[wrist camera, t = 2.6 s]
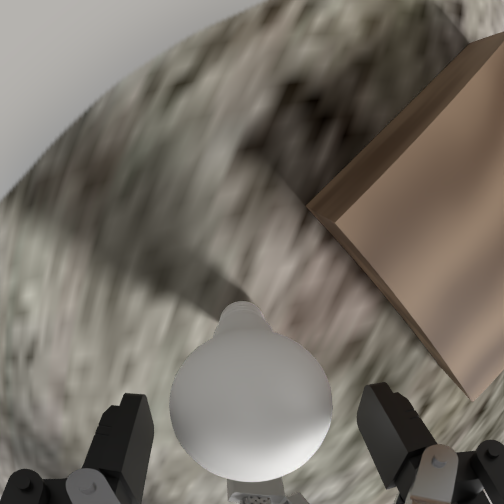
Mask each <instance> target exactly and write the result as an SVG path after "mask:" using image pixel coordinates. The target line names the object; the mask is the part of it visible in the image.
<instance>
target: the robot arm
mask: <svg viewBox="0 0 504 504" xmlns="http://www.w3.org/2000/svg"><path fill="white" fill-rule="evenodd" d="M357 424H358V428H359V430H360V432H361V434H362V436H363V439H364V441H365V443H366V445H367V447H368V450H369V452H370V454H371V456H372V459H373V461H374V463H375V465H376V467H377V470H378V472H379V474H380V476H381V479H382V481H383V483H384V485H385V488H386V490H387V489H390V488H393V487H396V486H397V488H398V490H399V492H398V494H397V496H396V498H395V501H394V503H393V504H490V502H489V501H488V499H487V497H486V495H485V493H484V491H483V489H485V491H486V493H487V494H488V496H489V498H490V500H491V502H492V503H493V504H504V445H503V444H502V443H500V442H498V441H495V440H486V441H484V442H482V443H481V444H480V445H479V446H478V448H477V449H476V451H469V452H458V453H456V452H455V451H454V450H453V449H452V448H450V447H449V446H446V445H442V444H437V442H436V441H435V439H434V438H433V436H432V435H431V433H430V432H429V430H428V429H427V427H426V426H425V424H424V423H423V421H422V420H421V418H419V415H418V414H417V412H416V411H414V408H413V406H412V405H411V403H410V402H409V400H408V399H407V398H405V397H404V396H402V395H401V394H400V393H398V392H397V393H393V392H392V390H391V389H390V387H389V386H388V384H387V383H385V382H382V383H376V384H370V385H366V386H365V388H364V391H363V394H362V398H361V401H360V405H359V408H358V412H357ZM153 438H154V424H153V420H152V416H151V412H150V409H149V405H148V401H147V397H146V395H144V394H131V393H125V394H124V395H123V398H122V401H121V403H120V406H114V405H111V406H110V407H109V408H108V409H107V410H106V411H105V412H104V413H103V415H102V417H101V420H100V422H99V427H97V430H96V432H95V435H94V438H93V440H92V443H91V446H90V448H89V451H88V454H87V456H86V459H85V462H84V465H83V467H82V468H81V469H78V470H76V471H74V472H72V473H71V474H70V475H69V476H68V478H65V479H42V478H41V477H40V476H39V474H38V473H36V472H35V471H33V470H29V469H21V470H18V471H16V472H14V473H13V474H12V475H11V476H10V478H9V480H8V482H7V485H6V487H5V490H4V492H3V495H2V497H1V500H0V504H141V502H142V496H143V490H144V485H145V479H146V474H147V468H148V463H149V458H150V453H151V448H152V443H153Z"/></svg>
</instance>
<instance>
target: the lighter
mask: <svg viewBox="0 0 504 504" xmlns="http://www.w3.org/2000/svg"><path fill="white" fill-rule="evenodd" d="M227 489H228V501H229V502H236V503H240V504H309V503H308V502H307V500H306V499H305V498H304V497H303V496H302V494H301V493H300V492H296V493H294V494H291V495H289V496H286V497H285V493H284V487H283V482H282V476H281V477H279V478H275V479H272V480H267V481H262V482H242V481H235V480H231V479H227Z"/></svg>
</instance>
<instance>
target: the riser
mask: <svg viewBox="0 0 504 504" xmlns="http://www.w3.org/2000/svg"><path fill="white" fill-rule="evenodd" d="M306 207H307V208H308V209H309V210H310V211H311V213H312V214H313V215H314V216H315V217H316V218H317V219H318V220H319V221H320V222H321V223H322V224H323V226H324V227H325V228H326V229H327V230H328V231H329V232H330V233H331V234H332V235H333V237H334V238H335V239H336V240H337V241H338V242H339V243H340V244H341V246H342V247H343V248H344V249H345V250H346V251H347V252H348V253H349V255H350V256H351V257H352V258H353V259H354V260H355V261H356V263H357V264H358V265H359V266H360V267H361V268H362V270H363V271H364V272H365V273H366V274H367V275H368V277H369V278H370V279H371V280H372V281H373V282H374V284H375V285H376V286H377V287H378V288H379V290H380V291H381V292H382V293H383V294H384V296H385V297H386V298H387V299H388V300H389V302H390V303H391V304H392V305H393V307H394V308H395V309H396V310H397V311H398V313H399V314H400V315H401V316H402V318H403V319H404V320H405V321H406V323H407V324H408V325H409V326H410V328H411V329H412V330H413V332H414V333H415V334H416V335H417V337H418V338H419V339H420V341H421V342H422V343H423V344H424V346H425V347H426V348H427V350H428V351H429V352H430V354H431V355H432V356H433V358H434V359H435V360H436V362H437V363H438V364H439V366H440V367H441V368H442V369H443V370H444V371H445V372H446V374H447V375H448V376H449V377H450V378H451V379H452V380H453V381H454V382H455V383H456V384H457V386H458V387H459V388H460V389H461V390H462V391H463V392H464V393H465V394H466V396H467V397H468V398H469V399H470V400H471V401H472V402H473V401H474V400H475V399H476V398H477V397H478V396H479V395H480V394H481V393H482V392H483V391H484V390H485V389H486V388H487V387H488V386H489V385H490V384H491V383H492V382H493V381H494V380H495V379H496V377H497V376H498V375H499V374H500V373H501V372H502V371H503V370H504V32H501V33H498V34H495V35H492V36H489V37H486V38H483V39H480V40H477V41H475V42H472V43H469V44H468V45H467V46H466V47H465V48H464V49H463V50H462V51H461V52H460V53H459V54H458V55H457V56H456V57H455V58H454V59H453V60H452V61H451V62H450V63H449V64H448V65H447V66H446V67H445V68H444V69H443V70H442V71H441V72H440V73H439V74H438V75H437V76H436V77H435V78H434V79H433V80H432V81H431V82H430V83H429V84H428V85H427V86H426V87H425V88H424V89H423V90H422V91H421V92H420V93H419V94H418V95H417V96H416V97H415V98H414V99H413V100H412V101H411V102H410V103H409V104H408V105H407V106H406V107H405V108H404V109H403V110H402V111H401V112H400V113H399V114H398V115H397V116H396V117H395V118H394V119H393V120H392V121H391V122H390V123H389V124H388V125H387V126H386V127H385V128H384V129H383V130H382V131H381V132H380V133H379V134H378V135H377V136H376V137H375V138H374V139H373V140H372V141H371V142H370V143H369V144H368V145H367V146H366V147H365V148H364V149H363V150H362V151H361V152H360V153H359V154H358V155H357V156H356V157H355V158H354V159H353V160H352V161H351V162H350V163H349V164H348V165H347V166H346V167H345V168H344V169H343V170H341V171H340V172H339V173H338V174H337V175H336V176H335V177H334V178H333V179H332V180H331V181H330V182H329V183H328V184H327V185H326V186H325V187H324V188H323V189H322V190H321V191H320V192H319V193H318V194H317V195H316V196H315V197H314V198H313V199H312V200H311V201H310V202H309V203H308V204H307V205H306Z"/></svg>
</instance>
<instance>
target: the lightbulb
mask: <svg viewBox="0 0 504 504" xmlns="http://www.w3.org/2000/svg"><path fill="white" fill-rule="evenodd" d="M169 408H170V417H171V421H172V425H173V429H174V431H175V434H176V437H177V439H178V440H179V442H180V444H181V446H182V447H183V448H184V449H185V451H186V452H187V453H188V454H189V455H190V456H191V457H192V458H193V460H194V461H196V462H197V463H198V464H199V465H201V466H202V467H203V468H205V469H206V470H208V471H209V472H211V473H213V474H215V475H218V476H220V477H224V478H227V479H231V480H235V481H242V482H262V481H267V480H272V479H275V478H279V477H281V476H284V475H286V474H288V473H290V472H292V471H294V470H296V469H297V468H299V467H301V466H302V465H303V464H304V463H306V462H307V461H308V460H309V459H310V458H311V457H312V455H313V454H314V453H315V452H316V451H317V449H318V448H319V447H320V446H321V444H322V442H323V440H324V438H325V436H326V434H327V432H328V430H329V427H330V422H331V417H332V409H333V406H332V394H331V387H330V384H329V382H328V379H327V376H326V374H325V372H324V370H323V368H322V366H321V365H320V364H319V362H318V361H317V360H316V358H315V357H314V356H313V355H312V354H311V353H310V352H309V351H308V350H307V349H305V348H304V347H303V346H302V345H301V344H299V343H298V342H296V341H294V340H292V339H291V338H289V337H287V336H284V335H282V334H279V333H276V332H273V329H272V327H271V326H270V324H269V323H268V322H267V321H266V320H265V318H264V315H263V313H262V312H261V310H260V309H259V307H257V306H256V305H255V304H253V303H251V302H247V301H238V302H234V303H231V304H230V305H228V306H227V307H226V308H225V309H224V310H223V312H222V314H221V316H220V320H219V325H218V326H217V328H216V329H215V332H214V335H213V338H212V339H210V340H208V341H207V342H205V343H203V344H202V345H200V346H199V347H197V348H196V349H195V350H194V351H193V352H192V353H191V354H190V355H189V356H188V357H187V359H186V360H185V362H184V363H183V364H182V366H181V368H180V369H179V371H178V372H177V374H176V376H175V379H174V382H173V384H172V388H171V393H170V403H169Z"/></svg>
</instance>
